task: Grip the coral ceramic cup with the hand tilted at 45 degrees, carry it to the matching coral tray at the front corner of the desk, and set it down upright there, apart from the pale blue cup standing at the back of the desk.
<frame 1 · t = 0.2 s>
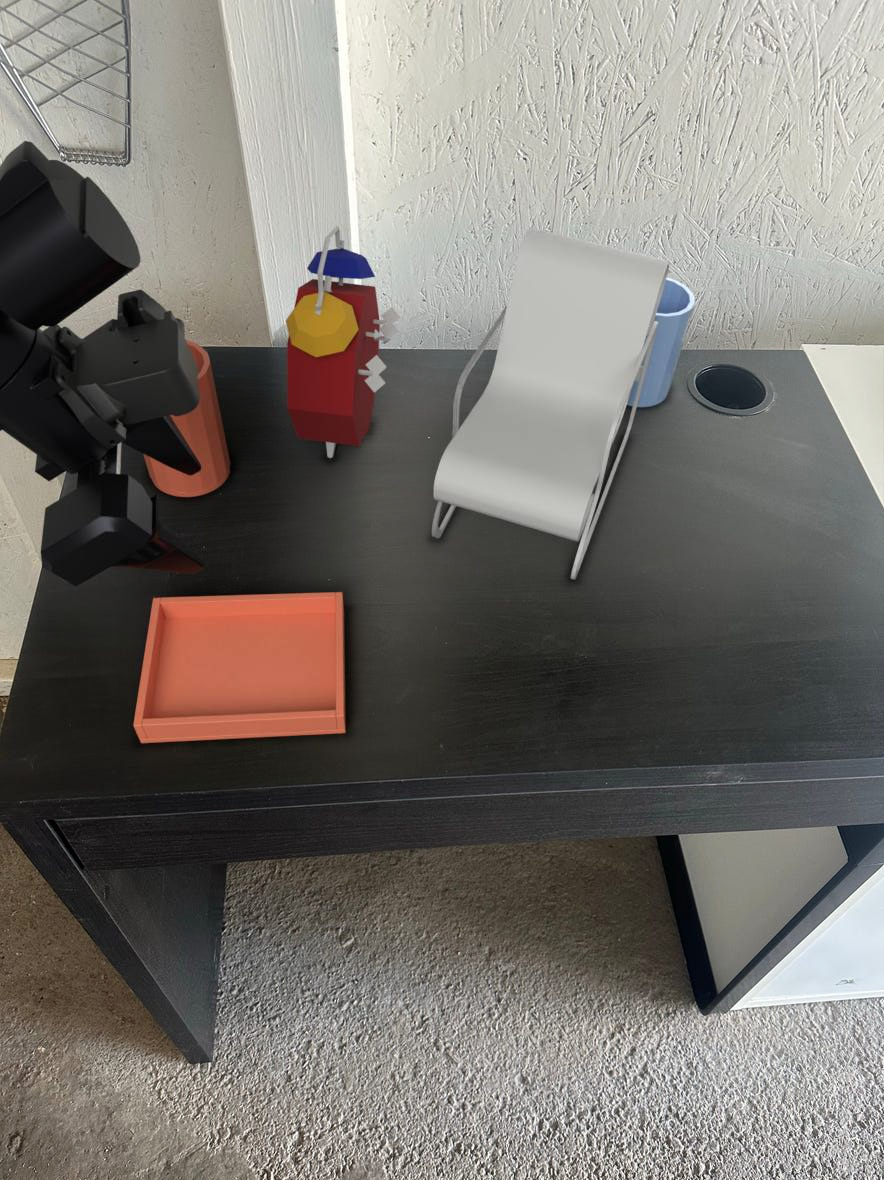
hand: (197, 518, 60), 15 cm above the table, tool tilted 30°, fingers open, 9 cm apart
coral tray: (249, 672, 71), on the table
chair: (536, 488, 87), on the table
coral cup: (190, 470, 84), on the table
blue cup: (634, 386, 98), on the table
alarm clock: (351, 428, 90), on the table
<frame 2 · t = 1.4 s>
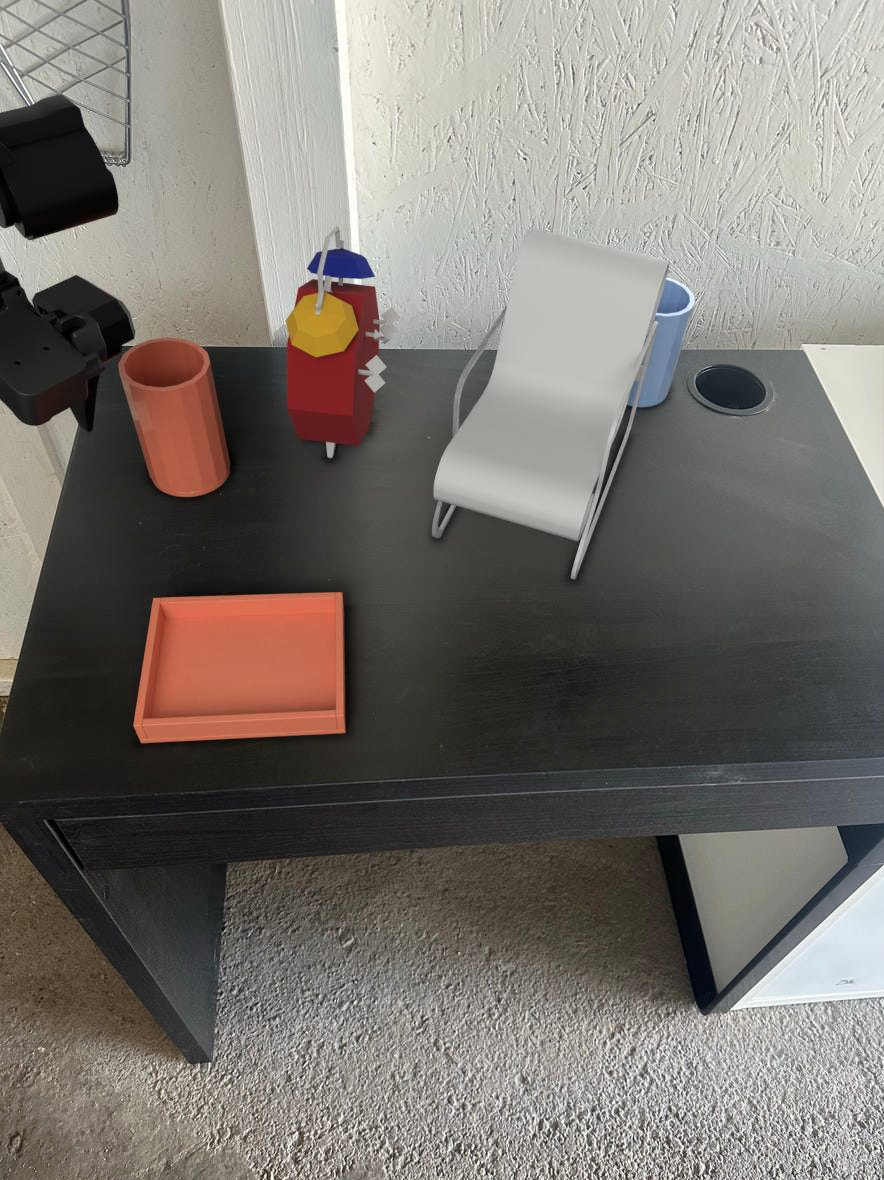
hand: (34, 459, 65), 13 cm above the table, tool pointing down, fingers open, 9 cm apart
nothing on the table moved.
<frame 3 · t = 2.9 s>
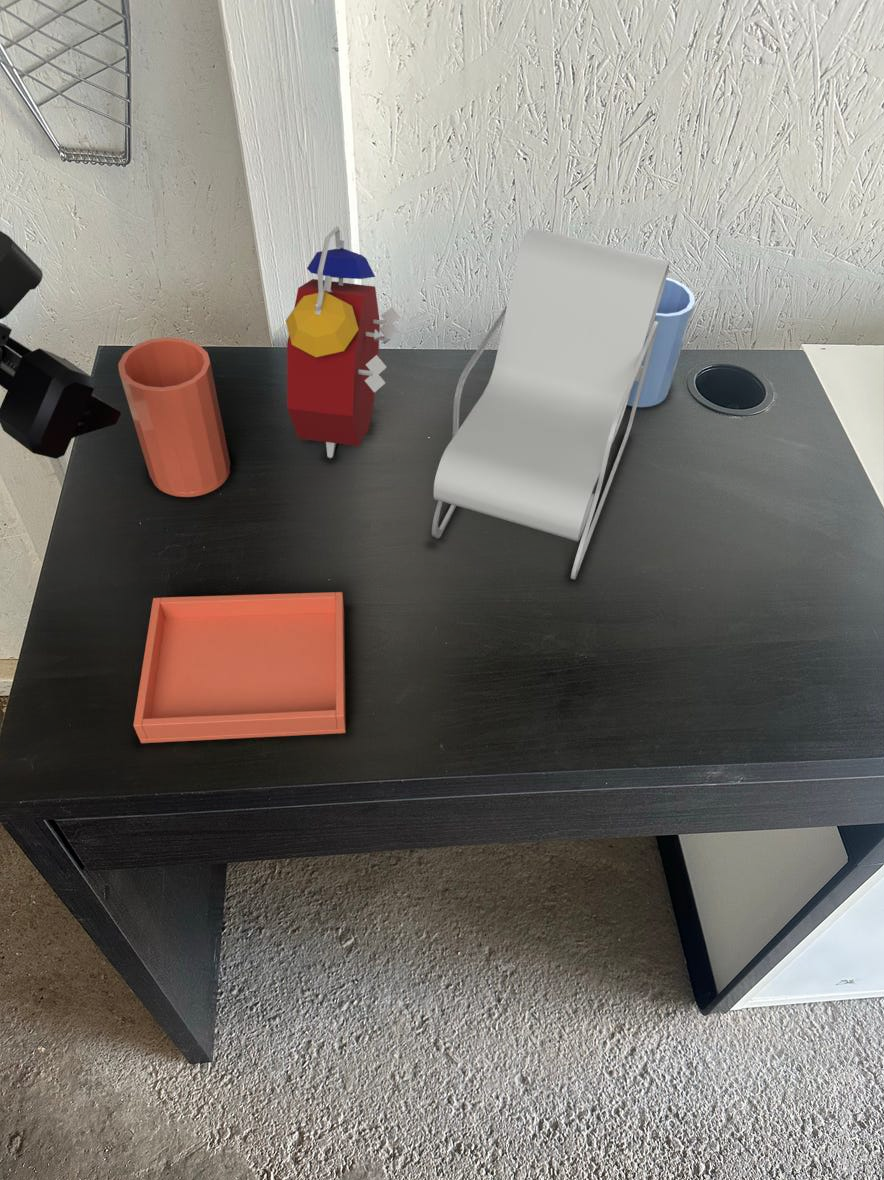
hand: (80, 391, 70), 13 cm above the table, tool tilted 45°, fingers open, 9 cm apart
nothing on the table moved.
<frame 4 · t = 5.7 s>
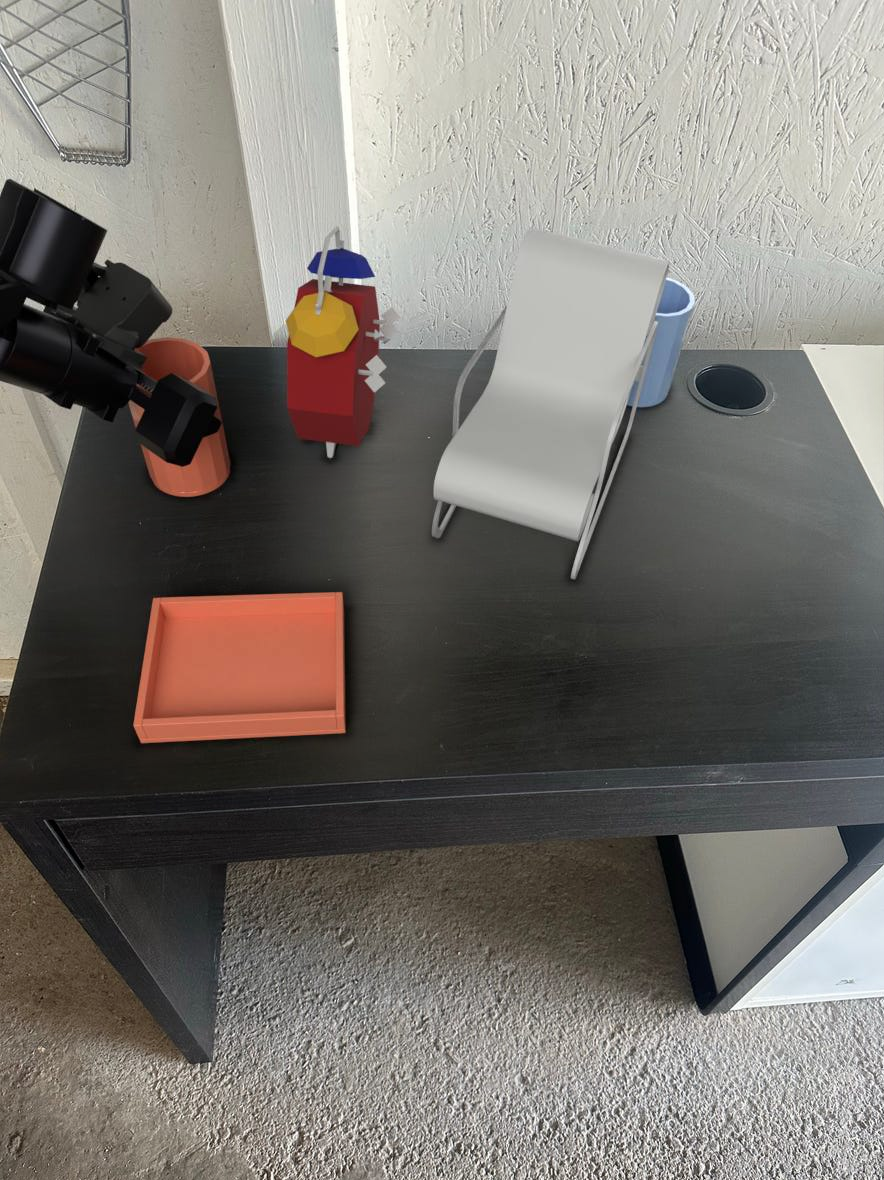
hand: (189, 407, 80), 7 cm above the table, tool tilted 45°, fingers closed on coral cup, 7 cm apart
coral cup: (190, 470, 84), on the table, touching gripper
everything else where it was.
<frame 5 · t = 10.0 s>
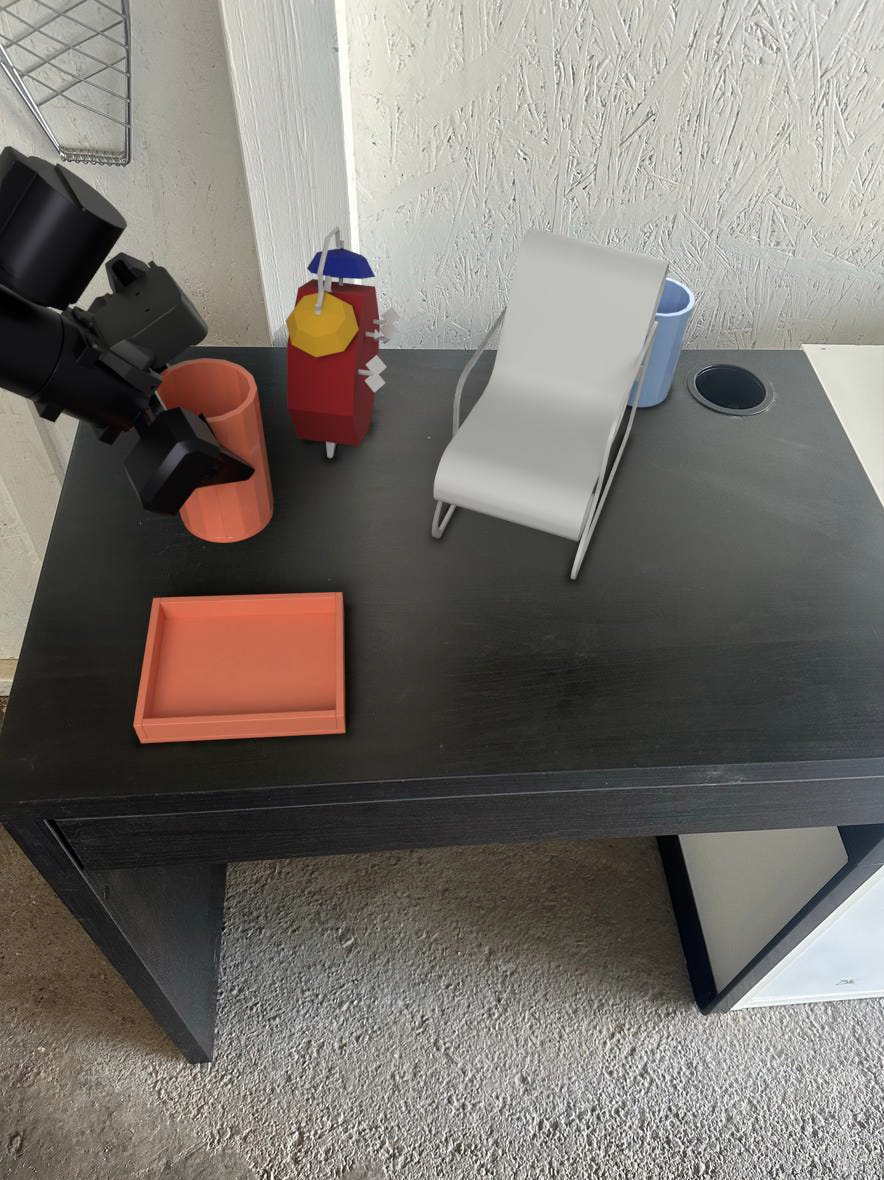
hand: (232, 442, 68), 13 cm above the table, tool tilted 45°, fingers closed on coral cup, 7 cm apart
coral cup: (227, 510, 73), point 6 cm above the table, touching gripper
everything else where it was.
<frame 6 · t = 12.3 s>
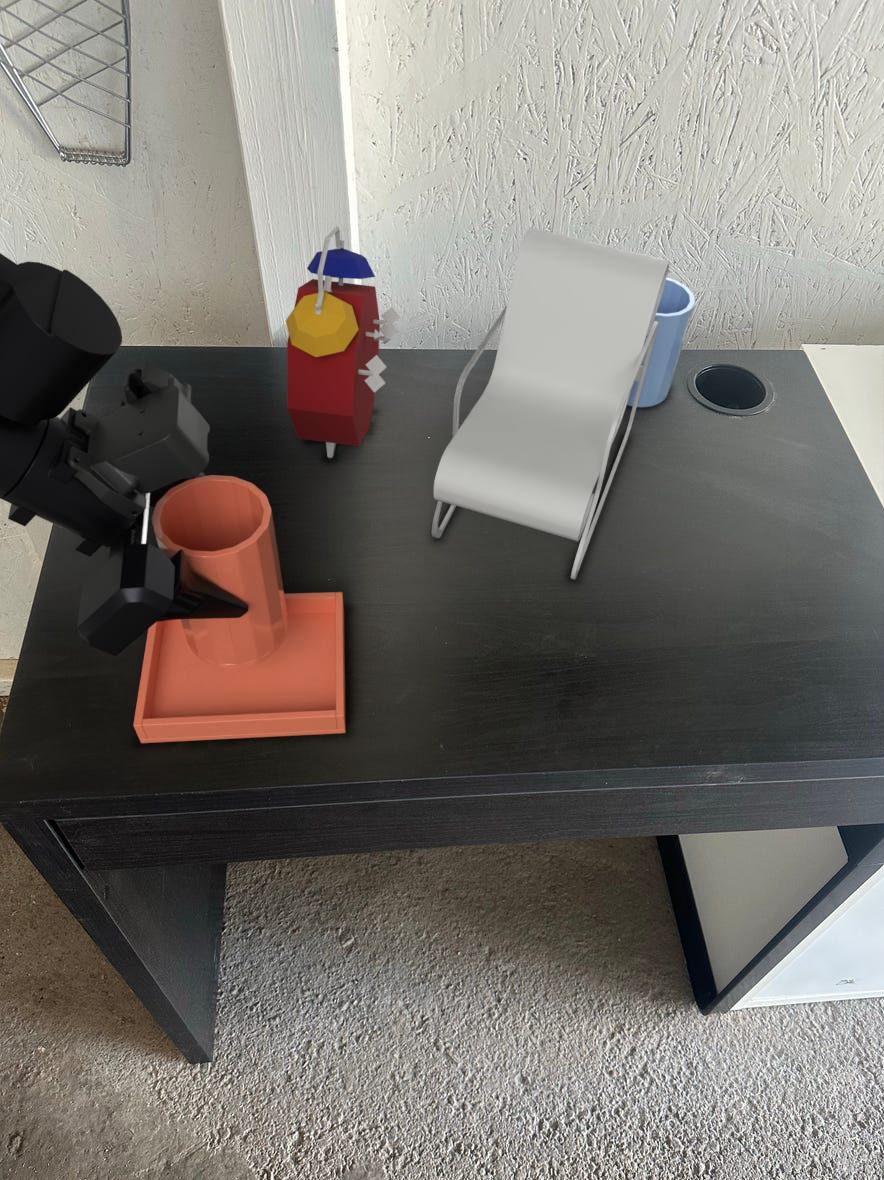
hand: (244, 568, 61), 12 cm above the table, tool tilted 45°, fingers closed on coral cup, 7 cm apart
coral cup: (237, 629, 66), point 6 cm above the table, touching gripper
everything else where it was.
when the fingers open (7 cm above the table, at t = 14.4 s): coral cup stays where it is, resting on coral tray.
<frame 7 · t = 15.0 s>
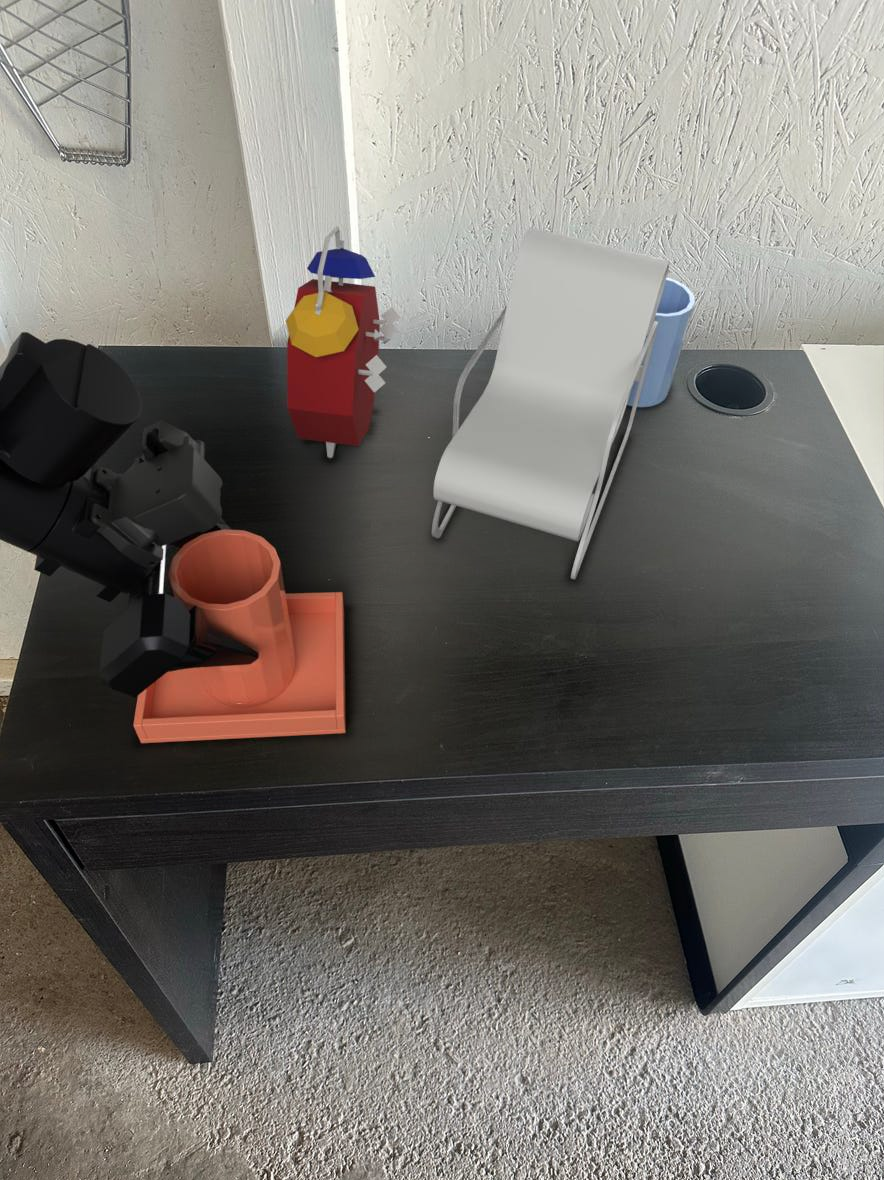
hand: (254, 608, 65), 8 cm above the table, tool tilted 45°, fingers open, 9 cm apart
coral cup: (248, 668, 70), resting on coral tray
everything else where it was.
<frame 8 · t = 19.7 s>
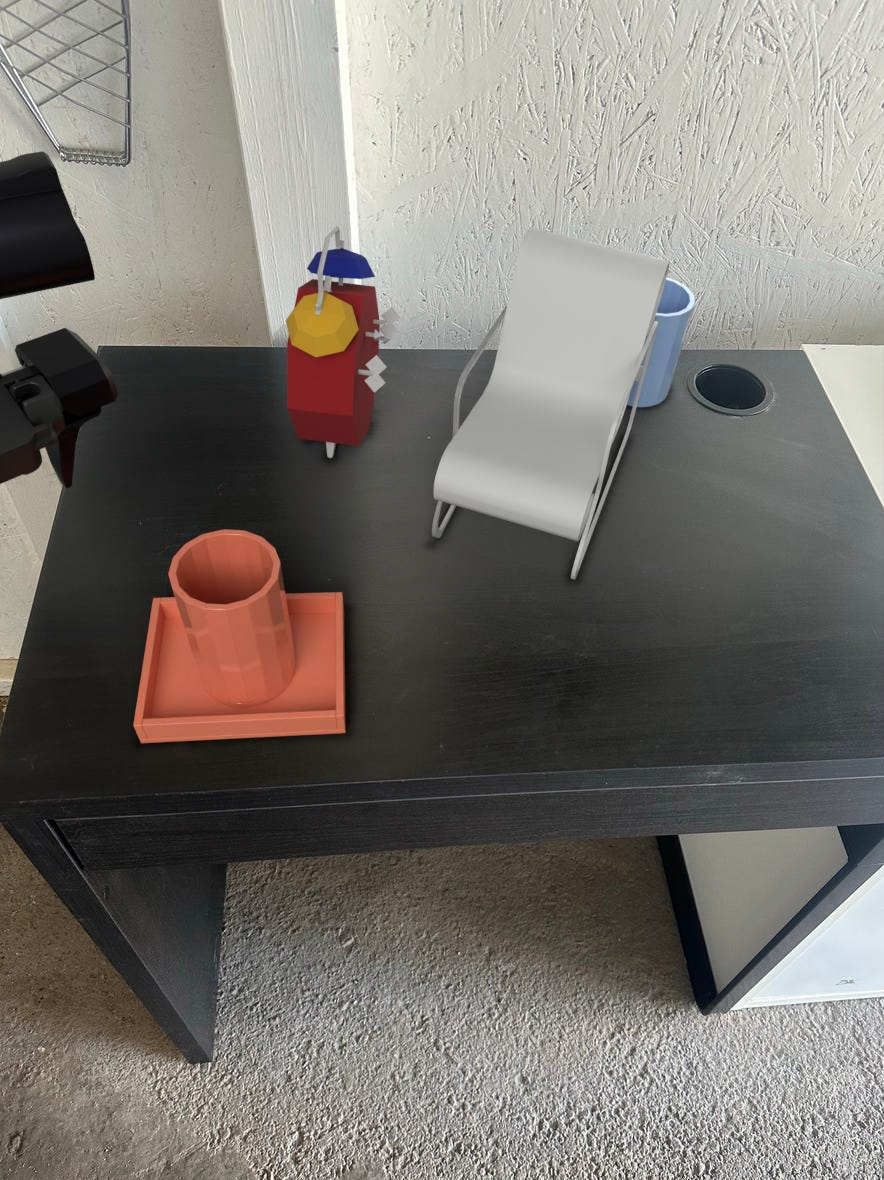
hand: (3, 512, 62), 13 cm above the table, tool pointing down, fingers open, 9 cm apart
nothing on the table moved.
at the end: coral cup inside the target area in the coral tray (0.0 cm from its centre), point 0.5 cm above the coral tray's base; coral cup tilted 0°; blue cup moved 0.0 cm from its start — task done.
